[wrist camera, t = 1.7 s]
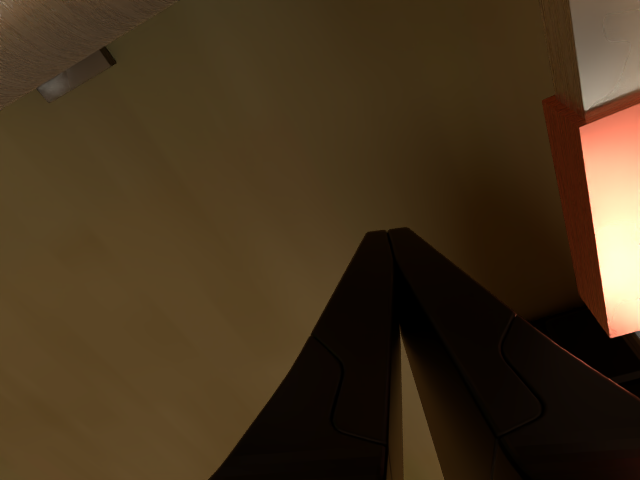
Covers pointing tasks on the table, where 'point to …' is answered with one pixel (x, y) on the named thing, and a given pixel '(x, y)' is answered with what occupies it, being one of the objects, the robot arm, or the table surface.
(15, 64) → the valve
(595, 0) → the lever
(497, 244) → the table surface
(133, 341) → the table surface
